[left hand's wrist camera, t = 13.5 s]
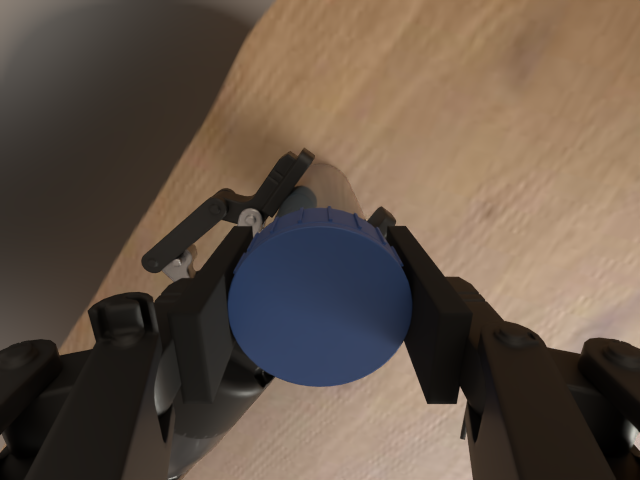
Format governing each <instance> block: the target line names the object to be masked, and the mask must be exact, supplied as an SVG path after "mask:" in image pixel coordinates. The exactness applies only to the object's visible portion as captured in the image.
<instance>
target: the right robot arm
mask: <svg viewBox="0 0 640 480" xmlns="http://www.w3.org/2000/svg"><path fill="white" fill-rule="evenodd" d="M314 157H315V155H314V154H312V153H311V152H310V151H308V150H307V149H306V148H304V149H303V150H302V152H301V153H300V154H299V156H296V155H295V154H294V153H292V152H291V151H290V152H288V153H287V154H285V155H283V156H282V157H281V158H280V159H279V160H278V162H277V163H276V165H275V166H274V168H273V169H272V171H271V172H270V174H269V175H268V177H267V178H266V180H265V181H264V182H263V184H262V185H261V187H260V188H259V190H258V191H257V193H256V194H254V195H252V196H242V195H239V194H236V193H235V192H234V191H233V190H231V189H228V188H224V189H221V190H220V191H218V192H217V193H216V194H215V195H214V196H212V197H210V198H209V199H208V200H206V201H205V202H204V203H203V204H202V205H201V206H199V207H198V208H197V209H196V210H195V211H194V212H193V213H192V214H190V215H189V216H188V217H187V218H186V219H185V220H184V221H182V222H181V223H180V224H179V225H178V226H177V227H176V228H174V229H173V230H172V231H171V232H170V233H169V234H168V235H166V236H165V237H164V238H163V239H162V240H161V241H160V242H159V243H157V244H156V245H155V246H154V247H153V248H152V249H151V250H149V251H148V252H147V253H146V254H145V255H144V256H143V257H142V260H141V262H142V266H143V267H144V269H146V270H147V271H148V272H151V273H158V272H160V271H161V270H162V271H163V272H164V273H165V274H166V275H167V276H168V277H169V278H170V279H171V280H172V281H174V282H175V281H177V280H179V279H181V278H194V277H195V276H196V275H197V273H198V272H199V271H195V270H194V268H193V261H194V259H195V258H196V257H197V249H196V247H195V245H194V244H193V243H194V242H196V241H197V240H198V239H199V238H200V237H201V236H203V235H204V234H205V233H206V232H207V231H209V230H210V229H211V228H212V227H213V226H214V225H216V224H217V223H218V222H219V221H220V220H224V221H228V222H232V223H235V224H237V226H252V227H253V238H254V236H255V234H256V233H257V232H258V233H260V232H261V231H262V230H263V229H264V227H265V223H266V219H267V218H268V216H270V217H273V216H274V215H275V213H276V212H277V210H278V209H279V208H280V206H281V205H282V203H283V202H284V201H285V199H286V198H287V197H288V195H289V194H290V192H291V191H292V190H293V188H294V187H295V185H296V184H297V183H298V181H299V180H300V178H301V177H302V176H303V174H304V173H305V171H306V170H307V169H308V167H309V166H310V164H311V163H312V161H313V160H314ZM367 222H368V223H369V224H371V225H372V226H373V227H374V228H376V227H378V228H379V229H380V231H381V233H382V235H383V237H384V238H385V239H386V238H387V226H395V224H396V220H395V218H394V217H393V215H392V214H391V213H390V212H388V211H387V210H386V209H384V208H383V207H379V208H378V209H377V210H376V211H375V212H374V213H373V215H372V216H371V217H370V218H369V219H368V221H367ZM274 378H275V376H273V375H271V374H269V373H267V372H266V371H264V370H263V369H261V368H260V367H258V366H257V365H256V364H255V363H254V362H253V361H252V360H250V358H249V357H248V356H247V355H246V354H245V353H244V352H243V350H242V349H241V347H240V346H239V345H238V343H237V341H236V342H235V344H234V347H233V350H232V353H231V355H230V358H229V361H228V363H227V366H226V369H225V371H224V374H223V377H222V379H221V382H220V385H219V387H218V390H217V393H216V396H215V398H214V401H213V404H183V400H182V395H181V389H180V388H179V390H178V392H177V394H176V396H175V398H174V400H173V404H174V410H175V423H174V431H173V438H172V446H171V453H170V461H169V469H168V476H167V480H182V479H183V478H184V476H185V475H186V474H187V473H188V472H189V471H190V469H191V468H192V467H193V466H194V465H195V464H196V463H197V462H198V461H199V460H200V459H202V458H203V457H204V456H205V455H206V454H208V453H209V452H210V451H211V450H212V449H213V448H214V447H215V446H216V445H217V444H218V443H219V442H220V440H221V439H222V438H223V437H224V436H225V435H226V434H227V432H228V431H229V430H230V429H231V428H232V427H233V426H234V424H235V423H236V422H237V421H238V420H239V419H240V418H241V416H242V415H243V414H244V413H245V412H246V411H247V410H248V408H249V407H250V406H251V405H252V404H253V403H254V402H255V400H256V399H257V398H258V397H259V396H260V395H261V393H262V392H263V391H264V390H265V389H266V388H267V387H268V385H269V384H270V383H271V382H272V380H273V379H274Z"/></svg>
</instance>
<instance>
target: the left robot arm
mask: <svg viewBox="0 0 640 480" xmlns="http://www.w3.org/2000/svg"><path fill="white" fill-rule="evenodd" d="M252 239H253V227H252V226H234V227H233V228H232V229H231V231H230V232H229V233H228V235H227V236H226V237H225V239H224V240H223V241H222V242H221V244H220V245H219V246H218V248H217V249H216V250H215V251H214V253H213V254H212V255H211V257H210V258H209V259H208V260H207V262H206V263H205V264H204V266H203V267H202V268H201V270H200V271H199V272H198V273H197V275H196V276H195V277H194V278H181V279H179V280H177V281H175V282H174V283H172V284H170V285H169V286H168V287H167V288H166V289H165V290H164V291H163V292H162V293H161V296H159V297H158V298H157V299H156V300H155V303H154V302H153V297H152V296H150V295H149V294H147V293H141V292H128V293H123V294H118V295H114V296H111V297H108V298H106V299H103V300H101V301H100V302H98V303H96V304H94V305H93V306H92V307H91V308H90V309H89V310H88V314H89V318H90V321H91V325H92V329H93V332H94V336H95V339H96V343H95V345H94V347H93V349H90V350H86V351H81V352H75V353H70V354H65V355H60V356H59V353H58V349H57V346H56V344H55V343H54V342H52V341H51V340H43V339H39V340H31V341H24V342H21V343H17V344H13V345H11V346H9V347H8V348H6V349H3V350H1V351H0V435H1V434H2V436H3V438H4V440H5V442H6V445H7V446H6V447H5V448H4V449H3V450H2V451H1V453H0V480H167V476H168V469H169V461H170V453H171V446H172V438H173V431H174V423H175V410H174V404H173V400H174V398H175V396H176V394H177V392H178V390H179V388H180V389H181V395H182V400H183V404H213V401H214V398H215V396H216V393H217V390H218V387H219V385H220V382H221V379H222V377H223V374H224V371H225V369H226V366H227V363H228V361H229V358H230V355H231V353H232V350H233V347H234V344H235V342H236V339H235V337H234V335H233V333H232V330H231V327H230V324H229V318H228V309H227V300H228V292H229V289H230V285H231V282H232V279H233V277H234V275H235V274H233V271H234V269H235V268H236V266H237V264H238V262H239V260H240V259H241V257H242V255H243V253H246V252H247V249H248V247H249V245H250V243H251V241H252ZM386 241H387V242H388V244H389V245H390V247H391V246H393V247H394V249H395V251H396V253H397V254H398V256H399V258H400V260H401V262H402V263H403V265H404V266H402V269H403V271H404V273H405V275H406V278H407V280H408V282H409V286H410V289H411V293H412V302H413V306H412V317H411V323H410V326H409V329H408V332H407V335H406V337H405V339H404V342H405V345H406V348H407V350H408V353H409V356H410V358H411V361H412V364H413V367H414V369H415V372H416V375H417V377H418V380H419V383H420V385H421V388H422V391H423V393H424V396H425V399H426V402H427V404H457V399H458V393H459V388H460V387H461V389H462V391H463V393H464V395H465V397H466V399H467V404H466V409H465V415H464V420H463V425H462V430H461V436H460V439H464V440H465V437H466V432H467V437H468V445H469V453H470V460H471V468H472V475H473V480H640V451H639V450H638V448H637V447H636V446H635V445H634V442H635V439H636V437H637V435H638V433H639V432H640V349H639V348H636V347H634V346H632V345H631V344H629V343H626V342H623V341H621V342H620V341H619V340H615V339H606V338H592V339H589V340H587V341H586V342H584V346H583V349H582V352H581V354H578V353H573V352H568V351H562V350H557V349H552V348H548V347H546V345H545V343H544V341H543V340H542V339H541V338H540V337H539V335H538V334H536V333H535V332H533V331H532V330H530V329H528V328H526V327H524V326H521V325H519V324H516V323H511V322H507V321H504V320H503V319H502V318H501V317H500V316H499V315H498V314H497V312H496V311H495V310H494V309H493V308H492V307H491V306H490V305H489V303H488V302H485V299H484V298H483V297H482V296H481V295H480V294H479V292H478V291H477V290H476V289H475V288H474V287H473V286H472V284H470V283H468V282H467V281H465V280H463V279H461V278H460V277H445V276H444V275H443V274H442V272H441V271H440V270H439V269H438V267H437V266H436V265H435V263H434V262H433V261H432V259H431V258H430V257H429V256H428V254H427V253H426V252H425V250H424V249H423V248H422V247H421V245H420V244H419V243H418V241H417V240H416V239H415V237H414V236H413V235H412V234H411V232H410V231H409V230H408V228H407V227H406V226H387V238H386Z"/></svg>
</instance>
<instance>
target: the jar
mask: <svg viewBox="0 0 640 480" xmlns="http://www.w3.org/2000/svg"><path fill="white" fill-rule="evenodd" d="M328 206H331V208H332V209H337V210H342V211H345V212H348V213H351V214H354V213H357V214H358V217H360V218H362V219H363V220H365V221H366V219H365V217H364V214H363V212H362V210H361V208H360V205H359V203H358V201H357V198H356V196H355V194H354V192H353V189H352V187H351V185H350V183H349V181H348V179H347V177H346V176H345V175H344V174H343V173H342V172H341V171H340V170H338V169H337V168H335V167H333V166H330V165H326V164H314V165H310V166H309V167H308V169H307V170H306V171H305V173H304V174H303V176H302V177H301V178H300V180H299V181H298V183H297V184H296V185H295V187H294V188H293V190H292V191H291V192H290V194H289V195H288V197H287V198H286V199H285V201H284V202H283V203H282V205H281V206H280V208H279V210H278V212H277V214H276V217H277V216H278V217H279V218H280V217H282V216H284V215H286V214H289V213H292V212H295V211H298V210H300V208H302V207H304V209H308V208H328ZM366 222H367V221H366Z"/></svg>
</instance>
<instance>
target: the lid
mask: <svg viewBox="0 0 640 480" xmlns="http://www.w3.org/2000/svg"><path fill="white" fill-rule="evenodd" d="M402 266H404V265H403V263H402V262H401V260H400V258H399V256H398V254H397V253H396V251H395V249H394V247H393V246H391V247H390V245H389V244H388V242H387V241H386V239H385V238H384V237H383V235H382V233H381V231H380V229H379V228H378V227H376V228H374V227H373V226H372V225H371V224H369V223H368V222H366V221H365V220H363V219H362V218H360V217H358V214H357V213H354V214H351V213H348V212H345V211H342V210H337V209H332V208H331V206H328V208H308V209H304V207H302V208H300V210H298V211H295V212H292V213H289V214H286V215H284V216H282V217H280V218H279V217H278V216H277V217H275V219H274V221H273V222H272V223H270V224H269V225H268V226H267V227H265V228H264V229H263V230H262V231H261V232H260V233H258V232H257V233H256V234H255V236H254V238H253V239H252V241H251V243H250V245H249V247H248V249H247V252H246V253H243V255H242V257H241V259H240V260H239V262H238V264H237V266H236V268H235V269H234V271H233V274H235V275H234V277H233V279H232V282H231V285H230V289H229V292H228V300H227V309H228V318H229V324H230V327H231V330H232V333H233V335H234V337H235V339H236V341H237V343H238V345H239V346H240V347H241V349H242V350H243V352H244V353H245V354H246V355H247V356H248V357H249V358H250V360H252V361H253V362H254V363H255V364H256V365H257V366H258V367H260V368H261V369H263V370H264V371H266V372H267V373H269V374H271V375H273V376H275V377H277V378H279V379H282V380H284V381H287V382H291V383H294V384H298V385H305V386H315V387H324V386H335V385H342V384H345V383H349V382H353V381H355V380H358V379H361V378H363V377H365V376H367V375H369V374H371V373H373V372H374V371H376V370H377V369H379V368H380V367H381V366H383V365H384V364H385V363H386V362H387V361H388V360H389V359H390V358H391V357H392V356H393V355H394V354H395V353H396V352H397V350H398V349H399V347H400V346H401V344H402V343H403V341H404V339H405V337H406V335H407V332H408V329H409V326H410V323H411V317H412V306H413V302H412V293H411V289H410V286H409V282H408V280H407V278H406V275H405V273H404V271H403V269H402Z"/></svg>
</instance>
